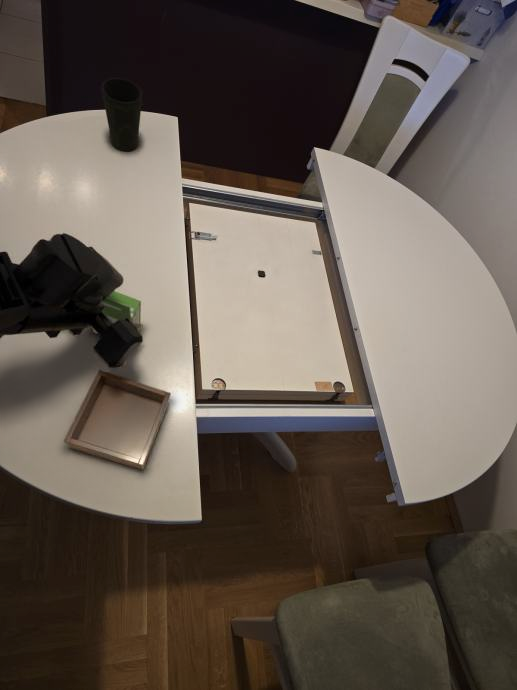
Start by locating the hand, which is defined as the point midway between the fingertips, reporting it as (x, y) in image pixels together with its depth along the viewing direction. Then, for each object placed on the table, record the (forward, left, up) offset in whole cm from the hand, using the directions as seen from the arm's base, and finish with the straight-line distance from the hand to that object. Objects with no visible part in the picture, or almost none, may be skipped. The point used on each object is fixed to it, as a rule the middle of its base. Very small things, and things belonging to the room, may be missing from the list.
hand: (122, 307), depth 63 cm
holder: (+6, -16, -7) cm, 19 cm away
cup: (-18, +43, -7) cm, 47 cm away
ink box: (-1, -1, -7) cm, 7 cm away
